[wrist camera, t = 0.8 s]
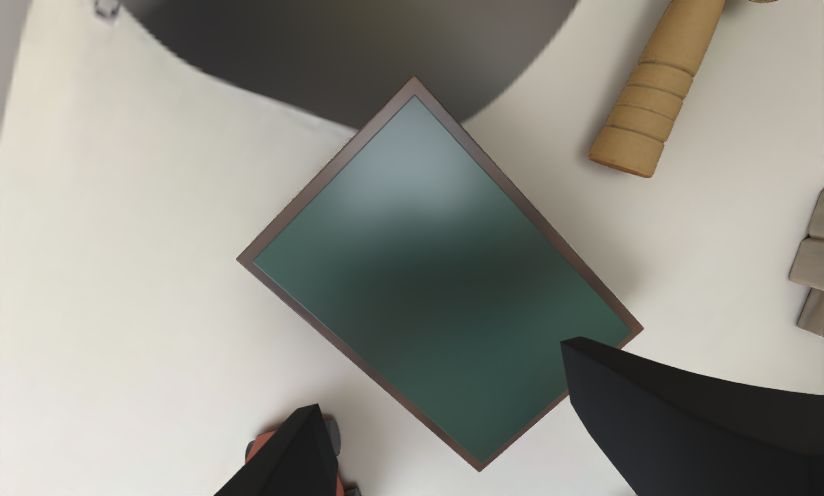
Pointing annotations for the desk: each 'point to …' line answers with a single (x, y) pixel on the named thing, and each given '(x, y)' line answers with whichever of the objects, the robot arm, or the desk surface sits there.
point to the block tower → (812, 272)
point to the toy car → (334, 436)
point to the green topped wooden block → (437, 277)
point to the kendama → (657, 88)
